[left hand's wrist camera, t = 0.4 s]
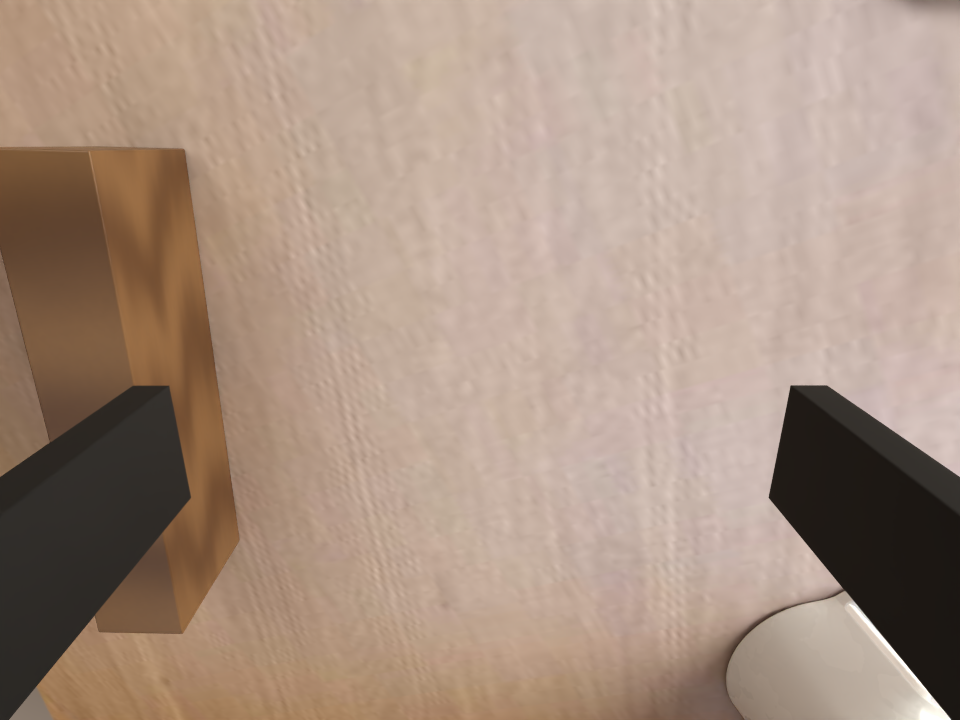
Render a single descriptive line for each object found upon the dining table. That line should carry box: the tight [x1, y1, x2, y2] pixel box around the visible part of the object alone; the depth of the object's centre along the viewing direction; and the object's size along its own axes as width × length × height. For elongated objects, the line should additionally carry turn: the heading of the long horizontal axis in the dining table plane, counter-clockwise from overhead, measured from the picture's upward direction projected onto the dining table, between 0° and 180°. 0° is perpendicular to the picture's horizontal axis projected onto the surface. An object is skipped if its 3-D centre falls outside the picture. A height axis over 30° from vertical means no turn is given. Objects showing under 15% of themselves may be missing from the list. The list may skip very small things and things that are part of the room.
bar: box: [0, 147, 239, 634], centre depth 35 cm, size 28×5×9 cm, turn 179°
